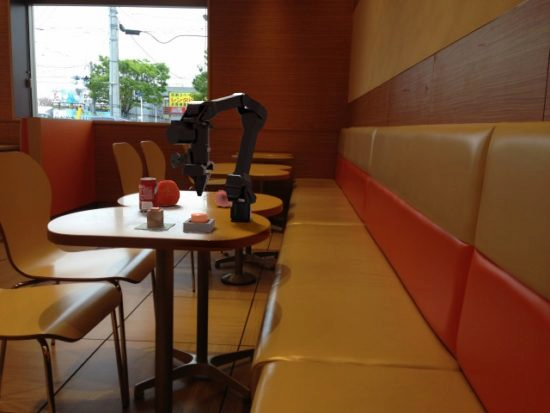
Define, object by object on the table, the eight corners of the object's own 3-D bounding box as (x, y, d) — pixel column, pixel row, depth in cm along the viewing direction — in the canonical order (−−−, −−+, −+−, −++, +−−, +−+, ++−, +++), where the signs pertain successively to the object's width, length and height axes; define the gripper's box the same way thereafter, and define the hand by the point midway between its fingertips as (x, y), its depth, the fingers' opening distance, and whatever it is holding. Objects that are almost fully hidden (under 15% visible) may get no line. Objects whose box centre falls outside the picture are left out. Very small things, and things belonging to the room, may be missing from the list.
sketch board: (175, 224, 144) (175, 223, 144) (167, 230, 136) (167, 229, 136) (144, 223, 145) (144, 222, 145) (134, 228, 136) (134, 228, 136)
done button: (209, 222, 141) (209, 213, 140) (205, 226, 136) (205, 216, 135) (193, 222, 141) (193, 212, 140) (189, 225, 136) (189, 215, 136)
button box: (214, 226, 142) (214, 218, 142) (209, 232, 134) (209, 223, 134) (189, 225, 143) (189, 218, 142) (183, 231, 135) (183, 222, 134)
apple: (176, 208, 175) (176, 181, 173) (150, 207, 175) (149, 180, 173) (182, 204, 185) (182, 178, 183) (157, 203, 185) (157, 177, 183)
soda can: (153, 212, 163) (152, 179, 162) (135, 211, 165) (135, 178, 163) (161, 209, 170) (160, 178, 168) (144, 208, 171) (144, 177, 169)
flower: (216, 190, 186) (218, 184, 181) (233, 198, 187) (237, 192, 182) (208, 205, 182) (211, 199, 177) (227, 213, 183) (230, 208, 178)
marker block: (163, 224, 142) (163, 207, 141) (159, 227, 138) (159, 209, 137) (151, 224, 142) (150, 206, 141) (147, 227, 138) (146, 208, 137)
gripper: (180, 142, 144) (181, 191, 147) (163, 144, 126) (164, 199, 128) (215, 143, 144) (215, 192, 146) (203, 145, 125) (203, 201, 128)
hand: (199, 196), depth 137 cm, fingers closed
